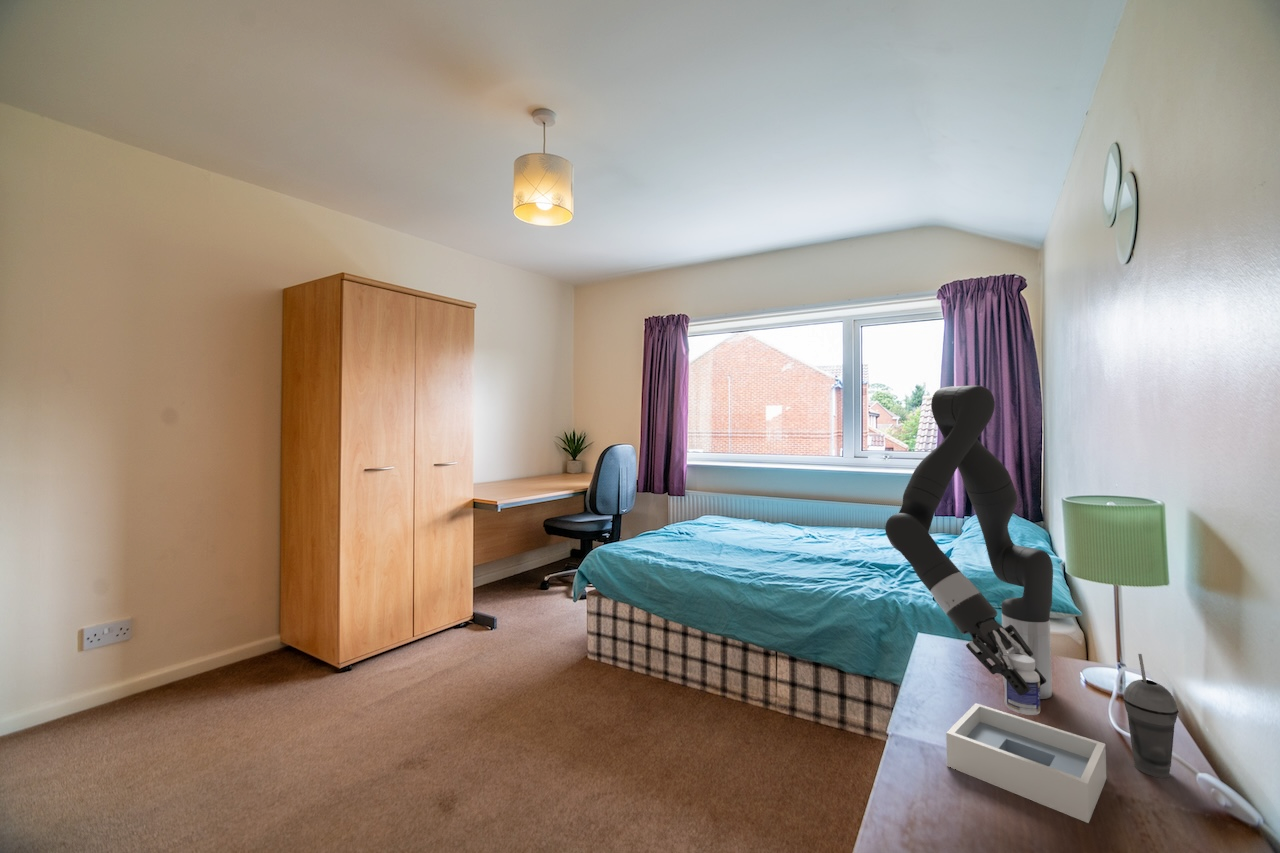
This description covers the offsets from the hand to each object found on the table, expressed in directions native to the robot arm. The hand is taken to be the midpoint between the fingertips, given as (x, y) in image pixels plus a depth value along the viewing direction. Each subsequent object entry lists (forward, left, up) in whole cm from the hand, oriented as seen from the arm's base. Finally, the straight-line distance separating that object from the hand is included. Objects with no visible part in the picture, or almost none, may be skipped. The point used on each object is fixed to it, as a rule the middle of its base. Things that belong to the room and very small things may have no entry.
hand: (1033, 688), depth 96 cm
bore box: (0, -2, -15) cm, 15 cm away
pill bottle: (0, -2, -4) cm, 5 cm away
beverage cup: (-17, +13, -16) cm, 27 cm away
